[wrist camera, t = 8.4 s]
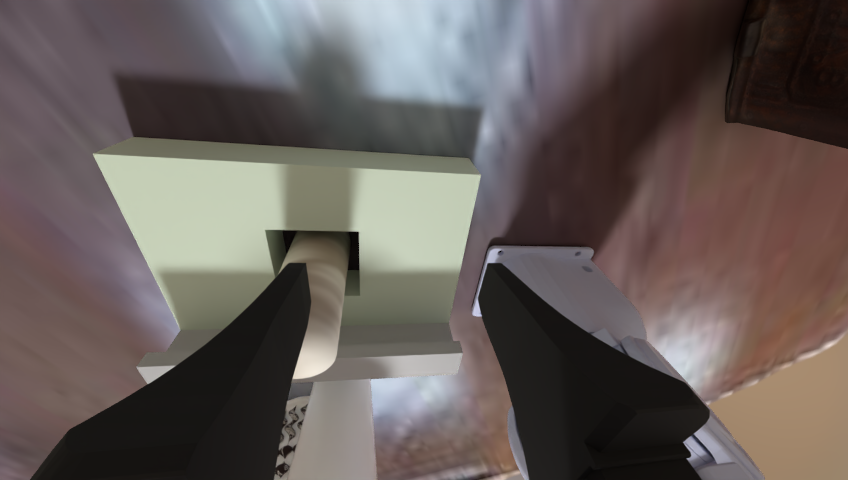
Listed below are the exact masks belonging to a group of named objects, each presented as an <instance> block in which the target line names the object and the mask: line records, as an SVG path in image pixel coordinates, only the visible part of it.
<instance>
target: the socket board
mask: <svg viewBox="0 0 848 480" xmlns="http://www.w3.org/2000/svg"><path fill="white" fill-rule="evenodd" d="M93 155H94V157H95V159H96V161H97V163H98V165H99V167H100V169H101V171H102V173H103V175H104V177H105V179H106V181H107V183H108V185H109V187H110V189H111V191H112V193H113V195H114V197H115V199H116V201H117V203H118V205H119V207H120V209H121V211H122V213H123V215H124V217H125V219H126V221H127V223H128V225H129V228H130V230H131V232H132V234H133V236H134V238H135V240H136V242H137V244H138V246H139V248H140V250H141V252H142V254H143V256H144V258H145V260H146V262H147V264H148V266H149V268H150V270H151V272H152V274H153V276H154V278H155V280H156V282H157V284H158V286H159V288H160V290H161V292H162V294H163V296H164V298H165V300H166V302H167V304H168V306H169V308H170V310H171V312H172V314H173V316H174V318H175V320H176V322H177V324H178V326H179V328H180V332H179V333H178V335H177V336H176V338H175V339H174V341H173V342H172V344H171V345H170V347H169V348H168V350H167V351H166V352H152V353H146V354H145V356H144V357H143V359H142V360H141V361H140V363H139V364H138V365H137V367H136V368H137V369H138V371H139V372H140V373H141V375H142V376H143V378H144V379H145V381H146V382H147V384H149V383H151V382H152V381H154V380H155V379H157V378H158V377H160V376H161V375H163V374H165V373H166V372H168V371H169V370H171V369H172V368H173V367H175V366H176V365H178V364H179V363H180V362H182V361H183V360H185V359H186V358H187V357H189V356H190V355H192V354H193V353H194V352H196V351H197V350H198V349H200V348H201V347H202V346H204V345H205V344H206V343H208V342H209V341H210V340H211V339H212V338H214V337H215V336H216V335H217V334H219V333H220V332H221V331H222V330H223V329H224V328H226V327H227V326H228V325H229V324H230V323H231V322H232V321H233V320H234V319H236V318H237V317H238V316H239V315H240V314H241V313H242V312H243V311H244V310H245V309H246V308H247V307H248V306H249V305H250V304H251V303H252V302H253V301H254V300H255V299H256V298H257V297H258V296H259V295H260V294H261V293H262V292H263V291H264V290H265V289H266V288H267V286H268V285H269V284H270V283H271V282H272V281H273V280H274V279H275V278H276V276H277V275H278V273H279V271H280V269H281V267H282V264H283V262H284V260H285V257H286V255H287V254H286V248H285V242H284V237H283V231H282V230H305V231H351V232H359V265H360V270H348V271H347V278H346V286H345V294H344V302H343V310H342V318H341V325H340V333H339V341H338V349H337V356H336V359H335V361H334V363H333V364H332V365H331V366H330V367H329V368H328V369H327V370H326V371H324V372H322V373H320V374H318V375H315V376H312V377H308V378H302V379H292V382H291V383H306V382H324V381H343V380H361V379H379V378H398V377H416V376H435V375H453V374H457V372H458V369H459V365H460V361H461V358H462V354H463V352H462V348H461V344H460V341H453V339H452V334H451V330H450V326H449V319H450V315H451V310H452V306H453V301H454V296H455V292H456V287H457V283H458V278H459V274H460V269H461V264H462V260H463V255H464V251H465V246H466V241H467V237H468V232H469V228H470V223H471V218H472V214H473V209H474V205H475V200H476V196H477V191H478V186H479V182H480V177H481V174H480V173H479V172H478V170H477V169H476V167H475V166H474V165H473V163H472V162H471V161H470V159H469V158H458V157H442V156H426V155H411V154H395V153H379V152H363V151H348V150H332V149H316V148H300V147H285V146H269V145H253V144H237V143H221V142H206V141H190V140H174V139H158V138H143V137H132V138H129V139H127V140H124V141H122V142H120V143H117V144H115V145H113V146H110V147H108V148H105V149H103V150H101V151H98V152H96V153H93Z"/></svg>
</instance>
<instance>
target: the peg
mask: <svg viewBox="0 0 848 480" xmlns="http://www.w3.org/2000/svg"><path fill="white" fill-rule="evenodd" d="M350 247H351V238H350V235H349V233H348V231H305V230H297V232H296V234H295V237H294V239H293V241H292V244H291V246H290V248H289V250H288V253H287V255H286V257H285V260H284V262H283V264H282V267H281V269H280V271H279V273H280V272H281V271H282V269H283V268H284V267H285V266H286V265H287V264H288V263H306V266H307V273H308V280H309V287H310V294H311V309H310V315H309V321H308V327H307V330H306V334H305V337H304V341H303V344H302V348H301V351H300V355H299V358H298V361H297V365H296V368H295V372H294V375H293V379H302V378H308V377H312V376H315V375H318V374H320V373H322V372H324V371H326V370H327V369H328V368H329V367H330V366H331V365H332V364H333V363H334V361H335V359H336V356H337V349H338V341H339V333H340V325H341V318H342V310H343V302H344V294H345V286H346V278H347V271H348V263H349V255H350ZM279 273H278V274H279Z"/></svg>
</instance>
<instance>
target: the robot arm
mask: <svg viewBox="0 0 848 480" xmlns="http://www.w3.org/2000/svg"><path fill="white" fill-rule="evenodd" d="M501 250H502V251H501ZM499 251H501V252H500V253H498V252H499ZM577 252H578V253H577ZM593 254H594V250H593V249H592V248H590V247H552V246H491V247H490V248H489V249H488V252H487V255H486V259H485V263H484V266H483V270H482V274H481V277H480V281H479V285H478V289H477V292H476V296H475V300H474V303H473V307H472V314H473V315H474V316H482V319H483V322H484V325H485V328H486V330H487V333H488V335H489V338H490V341H491V343H492V346H493V348H494V351H495V353H496V356H497V358H498V361H499V364H500V366H501V369H502V372H503V375H504V377H505V381H506V384H507V388H508V391H509V395H510V398H511V402H512V407H511V408H510V409H509V412H508V437H509V442H510V446H511V450H512V453H513V456H514V458H515V461H516V463H517V466H518V468H519V470H520V472H521V474H522V476H523V477H524V479H525V480H765V477H764V476H763V474H762V472H761V471H760V470H759V468H758V467H757V465H756V464H755V463H754V462H753V460H752V459H751V458H750V456H749V455H748V454H747V453H746V452H745V450H744V449H743V448H742V447H741V446H740V445H739V444H738V442H736V440H735V439H734V438H733V436H732V435H731V433H730V432H729V431H728V429H727V428H726V427H725V426H724V424H723V423H722V422H721V421H720V420H719V418H718V417H717V416H716V415H715V414H714V412H713V411H712V410H711V409H710V408H709V407H708V405H707V404H706V403H705V402H704V401H703V400H702V399H701V397H700V396H699V395H698V394H697V393H696V392H695V391H694V390H693V388H692V387H691V386H690V385H689V384H688V383H687V382H686V381H685V380H684V379H683V377H682V376H681V375H680V374H679V373H678V372H677V371H676V370H675V369H674V368H673V367H672V366H671V365H670V363H669V362H668V361H667V360H666V359H665V358H664V357H663V356H662V355H661V354H660V353H659V352H658V351H657V350H656V349H655V348H654V347H653V346H652V345H651V344H650V343H649V342H648V341H647V336H646V330H645V327H644V324H643V321H642V318H641V316H640V314H639V313H638V311H637V309H636V308H635V307H634V305H633V304H632V303H631V302H630V301H629V300H628V299H627V298H626V297H625V296H624V295H623V293H622V292H621V291H620V290H619V289H618V288H617V287H616V286H615V285H614V284H613V283H612V282H611V281H610V280H609V279H608V278H607V276H606V275H605V274H604V273H603V272H602V271H601V270H600V269H599V268H598V267H597V266H596V265H595V264H594V263H593V262H592V261H591V258H592V256H593ZM310 309H311V294H310V287H309V280H308V273H307V266H306V263H288V264H287V265H286V266H285V267H284V268H283V269H282V271H281V272H280V273H279V274H278V275H277V276H276V278H275V279H274V280H273V281H272V282H271V283H270V284H269V285H268V286H267V288H266V289H265V290H264V291H263V292H262V293H261V294H260V295H259V296H258V297H257V298H256V299H255V300H254V301H253V302H252V303H251V304H250V305H249V306H248V307H247V308H246V309H245V310H244V311H243V312H242V313H241V314H240V315H239V316H238V317H237V318H236V319H234V320H233V321H232V322H231V323H230V324H229V325H228V326H227V327H226V328H224V329H223V330H222V331H221V332H220V333H219V334H217V335H216V336H215V337H214V338H212V339H211V340H210V341H209V342H208V343H206V344H205V345H204V346H202V347H201V348H200V349H198V350H197V351H196V352H194V353H193V354H192V355H190V356H189V357H187V358H186V359H185V360H183V361H182V362H180V363H179V364H178V365H176V366H175V367H173V368H172V369H171V370H169V371H168V372H166V373H165V374H163V375H161V376H160V377H158V378H157V379H155V380H154V381H152V382H151V383H149V384H147V385H146V386H144V387H143V388H141V389H139V390H138V391H136V392H135V393H133V394H131V395H130V396H128V397H126V398H125V399H123V400H121V401H120V402H118V403H116V404H114V405H113V406H111V407H109V408H107V409H105V410H104V411H102V412H100V413H98V414H97V415H95V416H93V417H91V418H90V419H88V420H86V421H84V422H82V423H81V424H79V425H77V426H75V427H73V428H71V429H70V430H69V431H68V432H67V433H66V434H65V435H64V437H63V438H62V439H61V440H60V442H59V443H58V444H57V445H56V446H55V448H54V449H53V450H52V451H51V453H50V454H49V455H48V457H47V458H46V459H45V461H44V462H43V463H42V465H41V466H40V467H39V469H38V470H37V471H36V472H35V474H34V475H33V476H32V478H31V479H30V480H274V476H275V469H276V463H277V456H278V450H279V444H280V439H281V433H282V427H283V421H284V416H285V410H286V405H287V400H288V394H289V390H290V386H291V382H292V379H293V375H294V372H295V368H296V365H297V361H298V358H299V355H300V351H301V348H302V344H303V341H304V337H305V334H306V330H307V327H308V321H309V315H310Z"/></svg>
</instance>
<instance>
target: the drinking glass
mask: <svg viewBox="0 0 848 480" xmlns="http://www.w3.org/2000/svg"><path fill="white" fill-rule="evenodd" d="M287 480H377V464H376V450H375V437H374V422H373V407H372V391H371V379H361V380H343V381H324V382H314V383H313V387H312V390H311V394H310V398H309V401H308V405H307V409H306V412H305V416H304V419H303V423H302V427H301V430H300V434H299V437H298V441H297V445H296V448H295V452H294V455H293V459H292V462H291V466H290V469H289V473H288V477H287Z"/></svg>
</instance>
